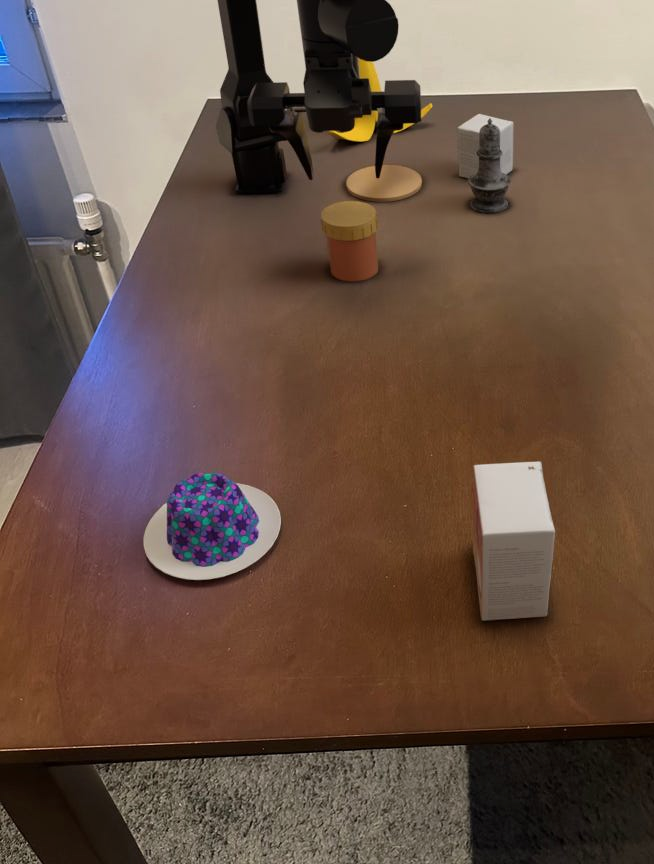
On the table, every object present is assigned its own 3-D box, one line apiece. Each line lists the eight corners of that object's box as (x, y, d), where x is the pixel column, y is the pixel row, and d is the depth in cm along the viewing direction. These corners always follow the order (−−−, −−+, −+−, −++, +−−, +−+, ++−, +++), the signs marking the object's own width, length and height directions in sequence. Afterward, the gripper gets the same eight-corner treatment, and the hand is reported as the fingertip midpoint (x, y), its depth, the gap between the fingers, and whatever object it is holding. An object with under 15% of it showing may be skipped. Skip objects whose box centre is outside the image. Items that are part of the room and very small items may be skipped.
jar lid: (320, 241, 106) (318, 227, 105) (324, 215, 111) (323, 201, 110) (376, 240, 107) (375, 225, 105) (378, 214, 111) (377, 200, 110)
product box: (513, 171, 133) (515, 121, 128) (492, 186, 130) (492, 136, 125) (479, 161, 136) (479, 112, 131) (457, 176, 132) (456, 126, 127)
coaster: (344, 202, 126) (343, 198, 126) (348, 169, 134) (348, 165, 134) (421, 201, 126) (421, 197, 126) (422, 167, 134) (421, 163, 134)
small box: (472, 551, 78) (471, 462, 71) (535, 547, 79) (541, 458, 71) (480, 623, 73) (480, 534, 65) (548, 618, 73) (555, 530, 66)
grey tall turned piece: (511, 196, 128) (513, 110, 119) (508, 215, 123) (510, 127, 115) (470, 194, 128) (470, 108, 120) (466, 213, 124) (465, 126, 115)
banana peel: (330, 154, 138) (316, 37, 126) (331, 107, 151) (319, -2, 139) (437, 149, 139) (433, 33, 127) (428, 103, 152) (424, -6, 141)
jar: (329, 282, 111) (322, 229, 106) (332, 258, 115) (326, 206, 110) (377, 281, 111) (372, 228, 106) (379, 256, 115) (374, 204, 110)
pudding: (254, 594, 75) (243, 552, 71) (121, 575, 76) (103, 533, 73) (299, 496, 83) (291, 454, 80) (179, 481, 85) (165, 439, 81)
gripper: (227, 62, 88) (255, 211, 99) (417, 58, 88) (424, 207, 99) (243, 26, 96) (268, 168, 106) (417, 23, 96) (424, 164, 107)
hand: (344, 177), depth 105 cm, fingers open, 7 cm apart
